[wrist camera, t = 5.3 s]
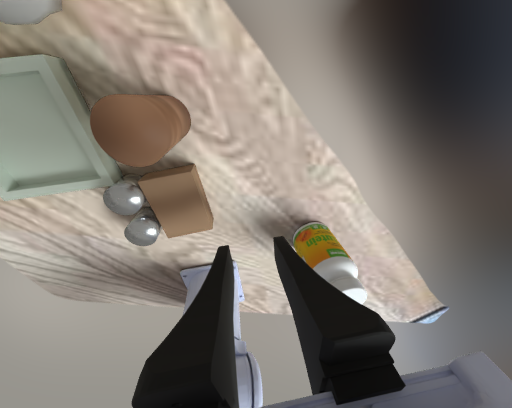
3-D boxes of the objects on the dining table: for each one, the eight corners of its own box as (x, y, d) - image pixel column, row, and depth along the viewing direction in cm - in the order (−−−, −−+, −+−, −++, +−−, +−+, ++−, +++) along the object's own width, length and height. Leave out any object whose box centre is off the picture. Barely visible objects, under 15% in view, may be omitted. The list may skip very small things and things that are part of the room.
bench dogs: (168, 226, 22) (161, 243, 20) (143, 230, 22) (132, 248, 20) (145, 172, 19) (132, 184, 16) (114, 176, 18) (96, 189, 16)
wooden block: (213, 216, 23) (212, 229, 21) (173, 224, 23) (168, 238, 21) (195, 162, 19) (191, 171, 17) (147, 172, 19) (137, 182, 17)
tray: (124, 177, 19) (114, 185, 17) (23, 191, 18) (4, 200, 17) (63, 58, 14) (42, 54, 12) (-79, 72, 13) (-120, 69, 12)
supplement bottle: (328, 216, 25) (378, 277, 17) (328, 244, 28) (371, 308, 19) (289, 226, 25) (320, 292, 17) (294, 253, 28) (322, 321, 19)
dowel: (195, 136, 18) (176, 161, 11) (157, 142, 17) (112, 171, 10) (183, 92, 16) (151, 89, 9) (140, 98, 16) (73, 99, 9)
